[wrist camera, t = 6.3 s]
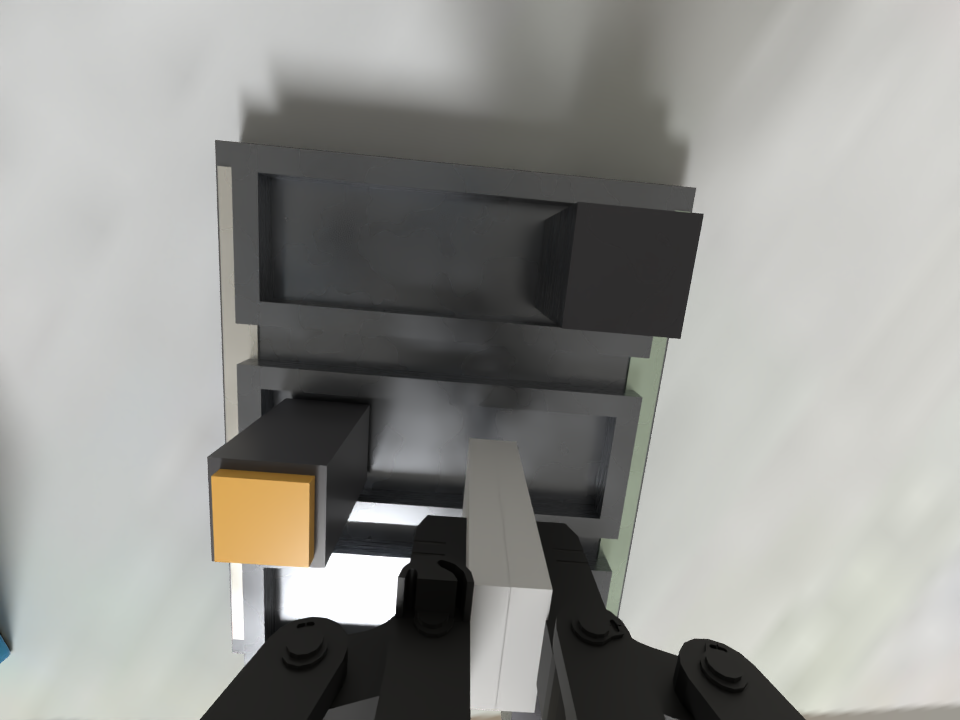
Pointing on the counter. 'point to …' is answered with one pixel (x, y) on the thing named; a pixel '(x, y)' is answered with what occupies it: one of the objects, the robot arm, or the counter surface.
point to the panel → (447, 347)
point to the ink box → (3, 650)
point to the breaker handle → (288, 484)
